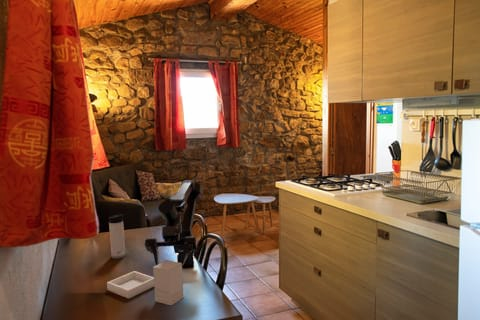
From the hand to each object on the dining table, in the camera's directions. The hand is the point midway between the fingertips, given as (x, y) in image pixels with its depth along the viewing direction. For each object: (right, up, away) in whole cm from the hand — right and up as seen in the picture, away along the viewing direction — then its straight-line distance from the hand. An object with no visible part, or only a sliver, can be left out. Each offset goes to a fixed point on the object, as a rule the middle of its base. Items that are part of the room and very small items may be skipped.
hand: (169, 265), depth 135 cm
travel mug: (-32, -8, +42) cm, 53 cm away
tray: (-16, -11, +8) cm, 20 cm away
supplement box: (+1, -11, -2) cm, 12 cm away
